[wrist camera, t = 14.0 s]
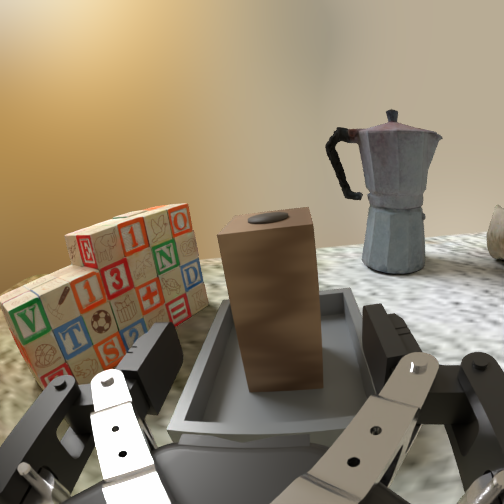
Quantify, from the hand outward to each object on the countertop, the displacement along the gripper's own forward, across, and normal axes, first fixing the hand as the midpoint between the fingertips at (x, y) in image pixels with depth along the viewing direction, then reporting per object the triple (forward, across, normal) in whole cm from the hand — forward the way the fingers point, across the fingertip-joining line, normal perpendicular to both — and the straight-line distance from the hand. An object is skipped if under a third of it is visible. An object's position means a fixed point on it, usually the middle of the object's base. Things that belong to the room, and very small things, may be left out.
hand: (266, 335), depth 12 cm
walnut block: (+7, 0, +8) cm, 11 cm away
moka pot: (+27, -14, +9) cm, 32 cm away
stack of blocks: (+13, +17, +9) cm, 23 cm away
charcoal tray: (+7, 0, +8) cm, 11 cm away
